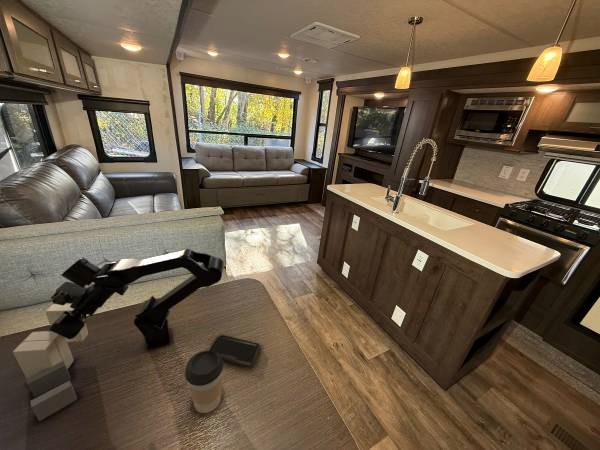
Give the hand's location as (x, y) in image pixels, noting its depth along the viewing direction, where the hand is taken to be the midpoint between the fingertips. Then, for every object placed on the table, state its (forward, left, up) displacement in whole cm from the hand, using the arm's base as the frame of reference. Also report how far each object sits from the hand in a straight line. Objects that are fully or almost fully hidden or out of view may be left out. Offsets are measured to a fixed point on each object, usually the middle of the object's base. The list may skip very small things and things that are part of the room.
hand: (66, 323), depth 74 cm
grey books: (0, +17, -9) cm, 19 cm away
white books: (+3, +8, -9) cm, 12 cm away
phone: (-46, +21, -9) cm, 51 cm away
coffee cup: (-36, +33, -9) cm, 49 cm away
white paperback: (0, 0, -6) cm, 6 cm away
